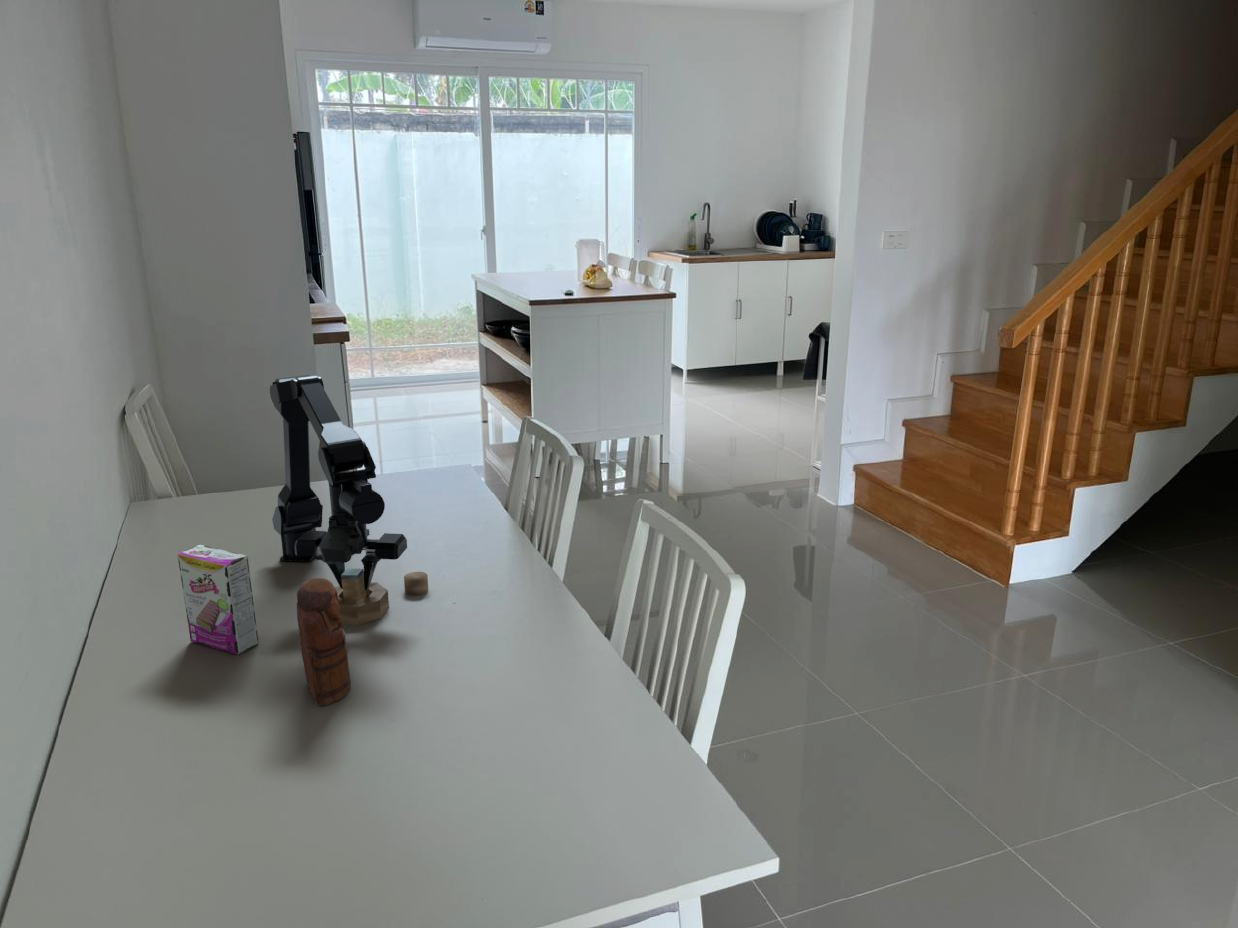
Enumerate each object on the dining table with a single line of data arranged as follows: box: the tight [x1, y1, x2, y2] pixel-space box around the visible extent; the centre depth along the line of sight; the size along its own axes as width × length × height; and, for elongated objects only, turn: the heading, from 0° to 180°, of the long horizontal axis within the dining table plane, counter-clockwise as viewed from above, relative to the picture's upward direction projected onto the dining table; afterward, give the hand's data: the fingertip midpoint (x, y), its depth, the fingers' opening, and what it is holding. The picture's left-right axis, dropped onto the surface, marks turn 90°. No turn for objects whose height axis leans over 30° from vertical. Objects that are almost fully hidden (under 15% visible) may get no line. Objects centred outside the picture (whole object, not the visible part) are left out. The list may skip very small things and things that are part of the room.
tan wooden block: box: [341, 567, 367, 601], centre depth 170 cm, size 3×3×8 cm
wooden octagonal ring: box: [334, 581, 390, 626], centre depth 171 cm, size 10×10×4 cm
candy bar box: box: [177, 544, 259, 656], centre depth 157 cm, size 11×5×16 cm, turn 65°
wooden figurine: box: [296, 577, 351, 706], centre depth 144 cm, size 12×6×18 cm, turn 26°
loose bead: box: [403, 571, 429, 596], centre depth 180 cm, size 4×4×3 cm
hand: (355, 588), depth 170 cm, fingers open, 4 cm apart
